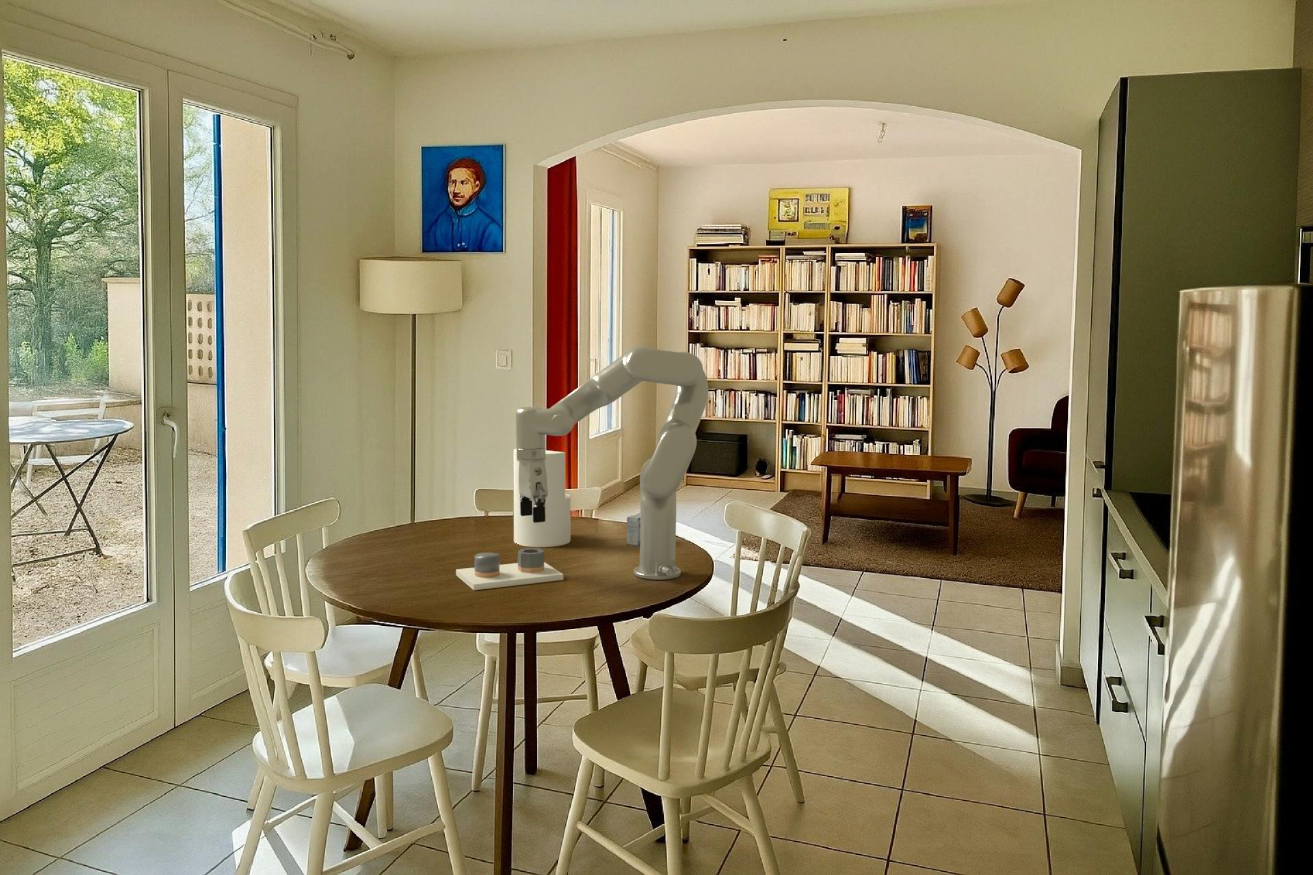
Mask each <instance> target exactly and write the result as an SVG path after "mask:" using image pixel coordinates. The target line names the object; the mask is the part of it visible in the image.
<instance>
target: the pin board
mask: <svg viewBox="0 0 1313 875" xmlns="http://www.w3.org/2000/svg"><path fill="white" fill-rule="evenodd" d="M473 557H474V567H469V568H468V567H467V568H458V569H457V568H456V569H455V575H456V576H457V577H458V578H459V579H460V580H461V581H463V583H464V584H466V585H467V586H468V587H470V589H472V590H473V591H478V590H485V589H486V590H487V589H488V590H489V589H496V588H504V587H513V586H520V585H521V586H523V585H530V584H540V583H548V582H555V581H564V573H562V572H561V571H559V570H557V569H556V568H554V567H553V566H551V565H549V563H546V562H545V561H544V570H542V571H541V572H534V573H526V572H521V571H519V570H518V562H515V563H514V562H513V563H506V564H505V563H504V564H500V560H501V559H500V558H501V557H500V553H496V552H478V553H475V555H474V556H473Z"/></svg>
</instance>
